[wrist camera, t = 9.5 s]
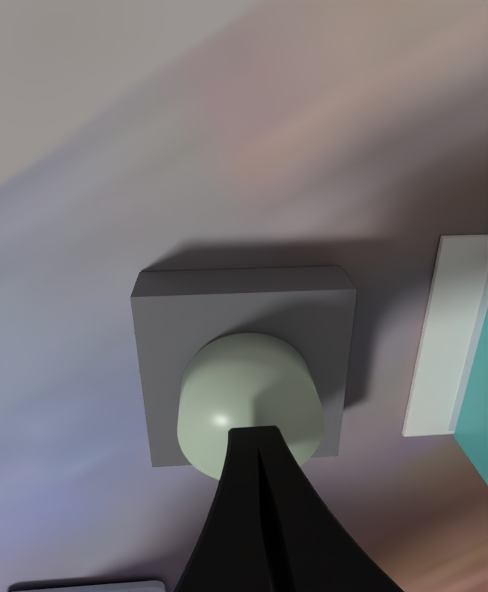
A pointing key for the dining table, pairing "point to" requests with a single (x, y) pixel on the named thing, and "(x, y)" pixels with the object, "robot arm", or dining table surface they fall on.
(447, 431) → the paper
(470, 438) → the teal capped block
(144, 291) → the button base
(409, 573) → the dining table surface
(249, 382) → the button
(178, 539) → the dining table surface
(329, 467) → the dining table surface
